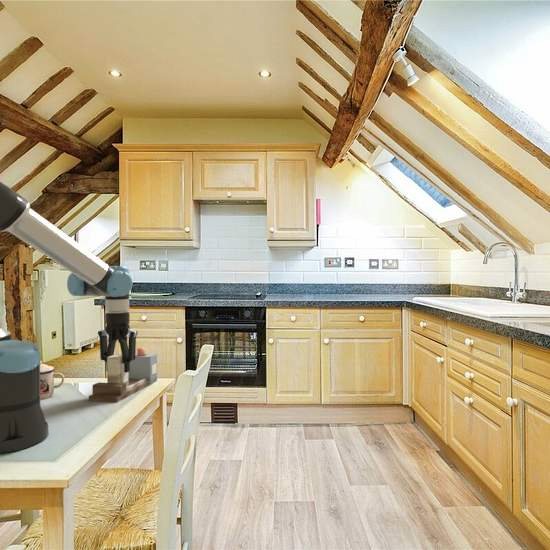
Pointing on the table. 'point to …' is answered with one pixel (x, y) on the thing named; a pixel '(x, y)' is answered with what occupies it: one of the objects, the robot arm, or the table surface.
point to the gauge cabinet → (144, 367)
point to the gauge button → (140, 351)
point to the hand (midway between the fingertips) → (118, 381)
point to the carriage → (115, 369)
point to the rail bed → (117, 390)
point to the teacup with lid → (48, 381)
